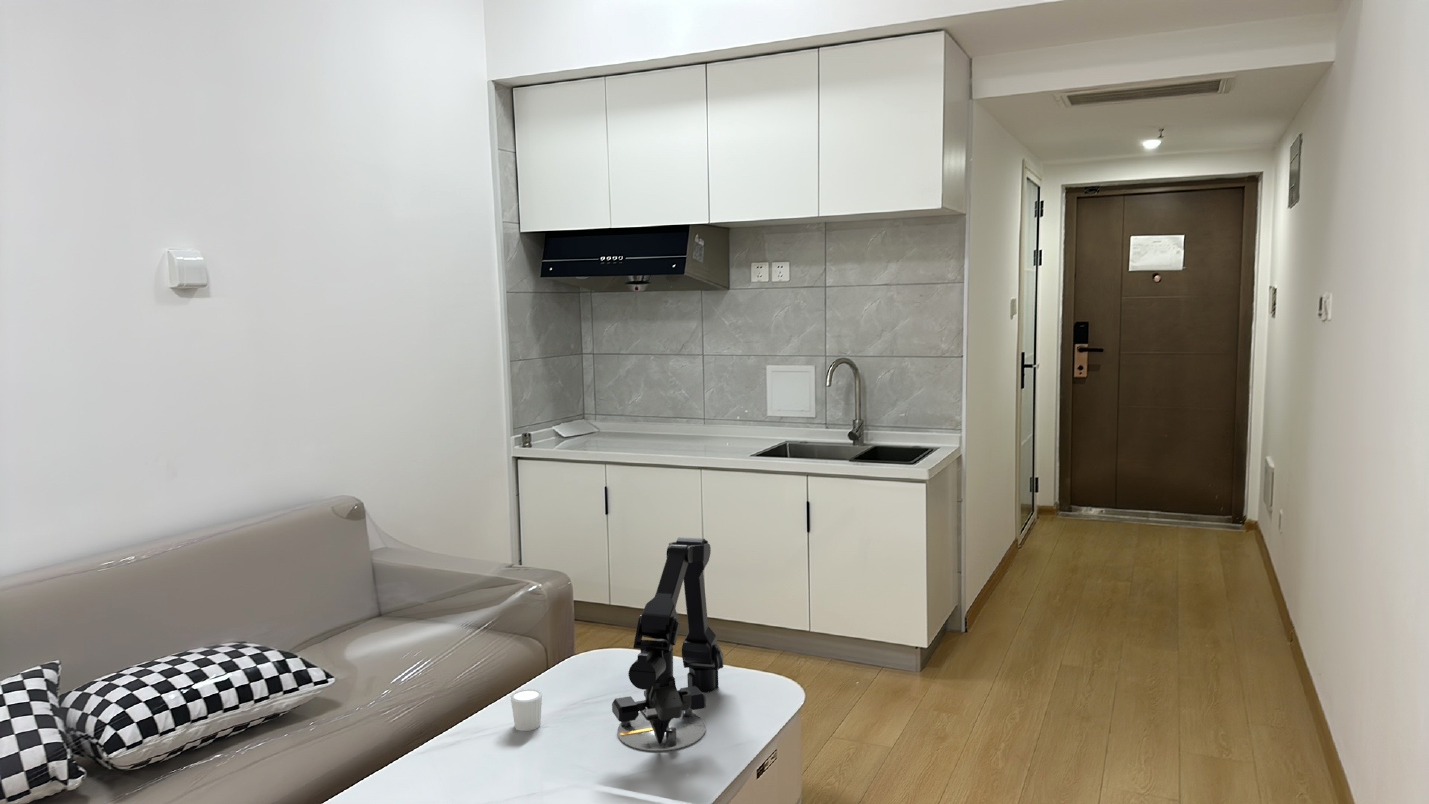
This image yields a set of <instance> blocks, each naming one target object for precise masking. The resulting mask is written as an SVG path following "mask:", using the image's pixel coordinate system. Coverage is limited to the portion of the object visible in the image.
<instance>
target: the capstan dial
mask: <svg viewBox="0 0 1429 804" xmlns="http://www.w3.org/2000/svg"><path fill="white" fill-rule="evenodd" d="M706 731H707V729H706V723H705V720H704V719H702V718H701V717H700V716H699V715H697V714H695V713H694V712H693V710H692V709H691V708H688V710H684V711H682V715H681V717H680V718H673V719H671V721H670V723H669V725H668V727H667V729H666V732H665V735H664V738H663V740H662V743H661V744H659V743H658V742H657V739H656V737H655V734H654V731H653V729H652V726H651V723H650V721H648V720H646V719H645V718H644V716H643V715H642V714H641V712H640V711H639V712H638V717H637V718H636V719H635V720H632V721H626V722H620V724H619V725H618V727H617V737H618V739H619V740H620V741H621V743H622V744H623V745H626V746H628V747H630V748H632V749H636V750H639V751H644V752H669V751H675V750H680V749H683V748H686V747H689V746H691V745H693V744H695V743H697V742H699V741H700V740H701V739H702V738H703V737H704V735H705V734H706Z"/></svg>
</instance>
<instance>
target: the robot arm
mask: <svg viewBox="0 0 1429 804" xmlns="http://www.w3.org/2000/svg"><path fill="white" fill-rule="evenodd" d="M711 551H712V550H711V545H710V543H709V541H708V540H706V538H699V537H698V538H697V537H678V538H677V540H676V541H672V542H669V543H668V546H667V548H666V560H665V563H664V566H663V569H662V573H661V575H660V578H659V582H658V585H657V589H656V591H655V595H654V597H653V598H651V600H649V601H648V602H647V603H645V606H644V608H643V610H642V613H641V614H640V615H639V618H638V621H637V626H636V632H635V637H634V642H633V649H635V650H636V649H637V650H640V652H639V653H638V654H637V659H636V660H635V661H634V662H633V663H632V664H631V665H630V667H629V671H628V674H627V675H628V678H629V681H630V683H631V684H632V685H633V686H634V687H635V688H637V689H638V690H643V696H644V697H645V699H644V700H638V701H635V699H633V697H632V696H630V695H629V696H623V697H618V698H616V697H615V698H614V700H613V702H612V704H611V712H612V713H613V715H614V716H615V718H616V720H617V721H618V722H620V723H621V722H626V721H632V720H635V719H636V718H637V717H638V713H640V712H641V714H642V715H643V716H644V718H645V719H646V720H648V721H650V723H651V726H652V729H653V731H654V734H655V737H656V739H657V742H658V743H659V744H661V743H662V740H663V738H664V735H665V732H666V729H667V727H668V725H669V723H670V721H671V719H673V718H680V717H681V715H682V711H684V710H688V708H691V709H692V711H696V710H701V709H702V710H703V709H705V708H707V699H706V695H705V694H704V693H711V692H714V691H715V690H716V689H720V687H719V670H720V669H724V653H723V652H722V649H721V647H720V645H718V639H717V634H715V632H714V631H713V630H712V629H711V628H710V626H709V622H708V621H709V620H708V610H707V609H708V608H707V598H706V596H707V595H706V588H705V578H704V577H705V576H704V571H705V569H706V567H707V564H708V563H709V561H710V557H711ZM682 586H683V588H684V589H683V590H684V597H685V605H686V606H685V607H686V610H685V611H686V617H687V627H688V632H687V635H686V636H685V638H684V640H683V642H682V645H681V658H682V663H683V668H685V669H686V668H687V669H688V672H687V675H686V676H687V686H686V687H680V688H679V690H678V689H677V685H676V677H674V646H676V643H677V640H678V635H679V630H680V626H681V625H680V624H681V623H680V621H679V616H678V612H677V610H676V608H677V604H678V600H679V596H680V593H681V589H682ZM643 638H645V639H643ZM652 639H653V640H652Z"/></svg>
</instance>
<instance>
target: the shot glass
mask: <svg viewBox="0 0 1429 804" xmlns="http://www.w3.org/2000/svg"><path fill="white" fill-rule="evenodd" d="M542 697H543V694H542V691H540V690H538V689H534V688H532V689H531V688H527V689H521V690H518V691H515V692H513V693H512V694H511V695H510V702H511V709H512V717H513V724H514V728H515V729H516V730H517V731H521V732H529V731H533V730H536V729H537V728H539V727H540V726H541V721H542V720H541V719H542V704H543V703H542V701H543V699H542Z"/></svg>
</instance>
